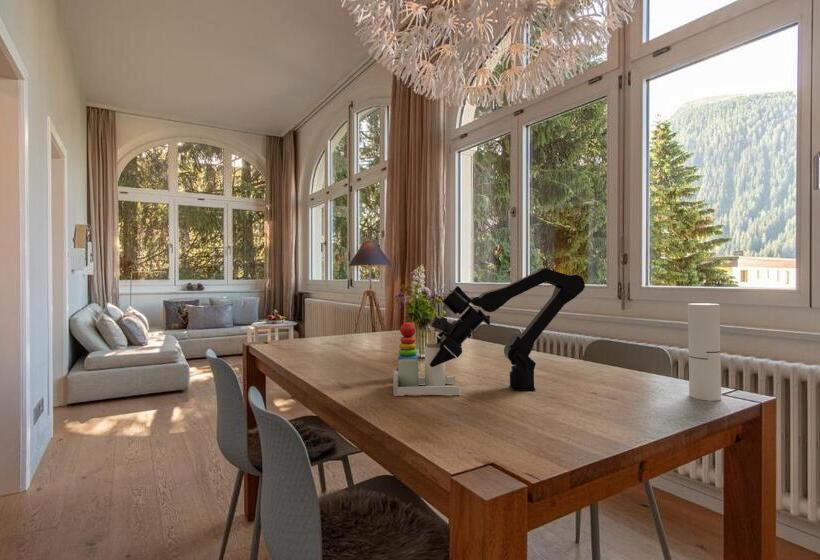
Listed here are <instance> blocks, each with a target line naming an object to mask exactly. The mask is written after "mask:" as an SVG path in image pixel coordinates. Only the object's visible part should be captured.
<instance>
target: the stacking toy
mask: <svg viewBox="0 0 820 560" xmlns="http://www.w3.org/2000/svg"><path fill="white" fill-rule="evenodd" d="M399 331H400V334H401V336H402V337H401V338H400V339H399V341H400V344H399V346H398V347H399V350H398V354H399V356H398V357H397V358H398V360H400V359H417V360H419V359H418V355H417V353H418V350H417V349H416V348H417V347H416V346H417V344H415V342H416V337H414V335H415V333H416V326H415V325H414V324H413V323H412V322H408V321H407V322H404V323H403V324H401V326H400V329H399ZM418 366H419V362H418ZM418 369H419V367H418ZM419 370H420V369H419ZM395 371H398V367H396V370H395ZM420 374H421V373H419V377H421V375H420ZM398 377H399V375H398Z"/></svg>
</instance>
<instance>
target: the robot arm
mask: <svg viewBox="0 0 820 560" xmlns="http://www.w3.org/2000/svg"><path fill="white" fill-rule="evenodd" d="M544 283H547V284H549V285H551V286H554V289H553V293H552V295H551V297H550V298H549V299H548V300H547V302H546V303H545V304H544V305H543V307H542V308H541V309H540V310H539V311H538V313H537V314H536V315H535V316H534V318H533V319H532V320H531V321H530V323H528V325H527V326H526V327H525V329H524V330H523V331H522V332H521V333H519V334H518V335H517V334H515V333H512V334H511V336H510V338H509V339H508V340H507V341H505V342H504V345H505V346H504V348H503V354H504V357H505V358H506V359H507V360H509V362H510V364H511V367H510V368H511V370H510V371H509V375H508V376H509V386H510V387H511V389H512V391H536V387H535V368H536V365H537V363H536V362H535V361H534V360H533V359H532V358H531V357H530V354H531V352H532V351H533V347H534V345H535V342H536V340H537V339H538V338H539V337H540V336H541V334H542V333H543V332H544V330H545V329H546V328H547V327H548V326H549V325H550V323H551V322H553V320H554V319H555V317H556V315H558V313H560V311H561V310H562V308H563V307H564V306H565V305H567V304H568V303H569V302H571V301H572V300H573V299H575V298H576V297H577V296H579V295H580V294H581V293H582V292H583V291H584V290H585V287H586V285H585V280H584V278H583V277H582V276H581V275H578V274H566V273H563V272H561V271H560V272H559V271H556V270H553V269H550V268H549V267H542V268H539V269H538V270H536V271H535V272H533V273H530V274H528V275H525V276H524V277H522V278H520V279H518V280H516V281H514V282H512V283H510V284H508V285H506V286H504V287H500V288H495V289H491V290H488V291H485V292H482V293H481V294H480V295H478V296H475V297H473V296H471V297H469V296H468V295H467V294H466V293H465V292H464V291H463V289H462V288H460V286H458V285H456V286H455V288H454V289H452V290H451V291H450V292H448V293H447V294H446V295H445V297H443V298H442V299H441V303H442V304H443V305H444V306H445V307H447V308H448V310H449V311H451V312H452V313H453V314H454V315H457V314H459V315H461V316H460V317H459V318H458V319H457V320H453V321H452V322H450V321H448V318H447V317H444V316H441V317H438V316H437V315H433V319H432V321H431V324H430V326H431V328H433V329H437V330H440V331H439V332H438V333H437V336H436V343H440V349H439V351H438V353H437V354H436V355H435V357H434V358H433V360H432V361H431V363H430V366H431V367H434V366H437V365H439V364H441V363H444V362H445V363H446V362H448V361H451V360H454V359H456V358H459V357H460V355H462V354H463V348H462V347H463V343H464V342H465V341H466V340H467V339H468V338H471V337H472V334H473V332H474V331H475V330H476V329H478V328H479V326H480V325H481V324H482V323H483V322H484V323H485V324H486V325H488V326H489V325H491V319H490V318H491V315H490V314H487V315H486V314H485V313H484V312H483V311H485V312H487V313H492V312H493V313H494V312H496V311H497V310H498V309H499V308H501V307H503V306H504V305H505V304H506V303H507V302H509V301H510V300H511V299H513V298H515V297H517V296H519V295H521V294H522V293H523V294H524V293H525V292H527V291H529V290H531V289H534V288H535V287H538V286H540V285H542V284H544ZM470 304H471V305H470ZM473 306H475V307H479V308H478V309H475V308H473ZM467 308H468V309H467ZM466 309H467V310H466ZM480 309H481V310H480Z"/></svg>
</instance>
